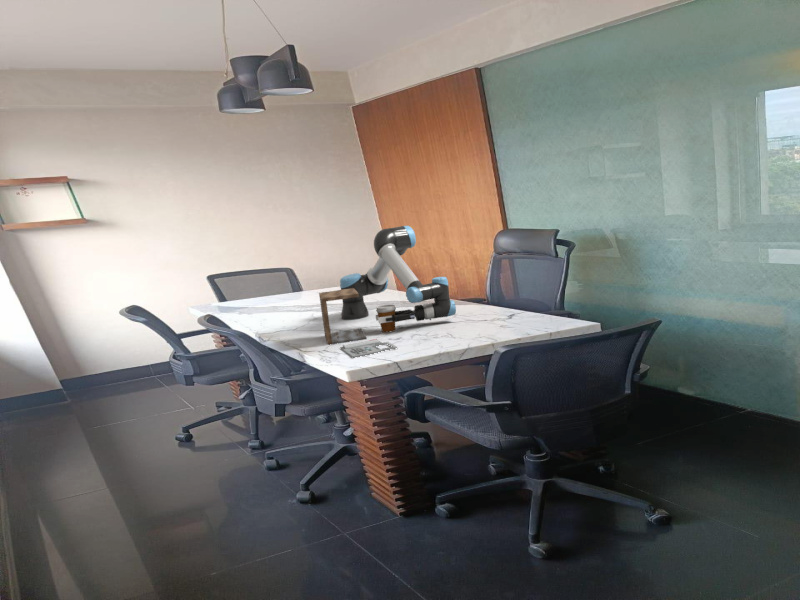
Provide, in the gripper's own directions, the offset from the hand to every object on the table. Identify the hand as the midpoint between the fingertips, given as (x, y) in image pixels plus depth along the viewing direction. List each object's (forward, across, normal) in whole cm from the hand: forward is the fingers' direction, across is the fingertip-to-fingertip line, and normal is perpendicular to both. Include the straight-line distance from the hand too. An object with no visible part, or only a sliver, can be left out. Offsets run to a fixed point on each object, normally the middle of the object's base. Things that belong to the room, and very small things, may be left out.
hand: (377, 319), depth 323 cm
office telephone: (+9, -32, -7) cm, 34 cm away
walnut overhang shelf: (+16, 0, -6) cm, 18 cm away
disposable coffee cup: (-5, 0, -7) cm, 8 cm away
